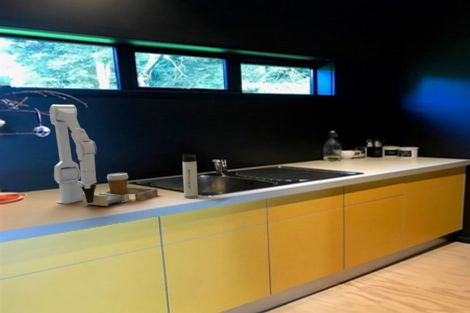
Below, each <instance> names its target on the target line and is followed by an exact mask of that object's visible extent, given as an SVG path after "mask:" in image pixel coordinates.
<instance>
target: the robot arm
mask: <svg viewBox="0 0 470 313" xmlns="http://www.w3.org/2000/svg"><path fill="white" fill-rule="evenodd" d="M77 115H78V110H77V107H76V106H75V105H74V104H52V105H50V108H49V118H50V122H51V125H54V128H55V134H56V135H55V136H56V142H57V143H56V144H57V149H58V156H59V157H58V158H59V162H58V163H56V165H54V167H53V168H54V169H53V170H54V172H53V178H54V181H55V182H56V183H57V184H58V185H59V186H58V187H59V196H60V198H59V199H60V200H58V201H56V203H57V204H66V205H67V204H72V203H77V202H81V201H83V194H85V196H86V200H87V203H93V199H94V195H95V192H96V188H97V176H96V163H95V162H96V161H95V156H96V154H97V145H96V142H95V141H94V140H92V139H90V138H89V136H88V134H87V133H86V130H85V129H84V128H82V127H81V126H80V124H79V121H78V119H77ZM68 128H69V129H70V130H71V132H70V137H71V138H72V140H73V141H74V144H75V146H76V147H75V151H76V155H77V160H78V161H79V164H78V163H77V162H75V161H74V160H73V159H72V152H71V151H72V150H71V145H70V137H69V129H68ZM79 180H80V181H79Z"/></svg>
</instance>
